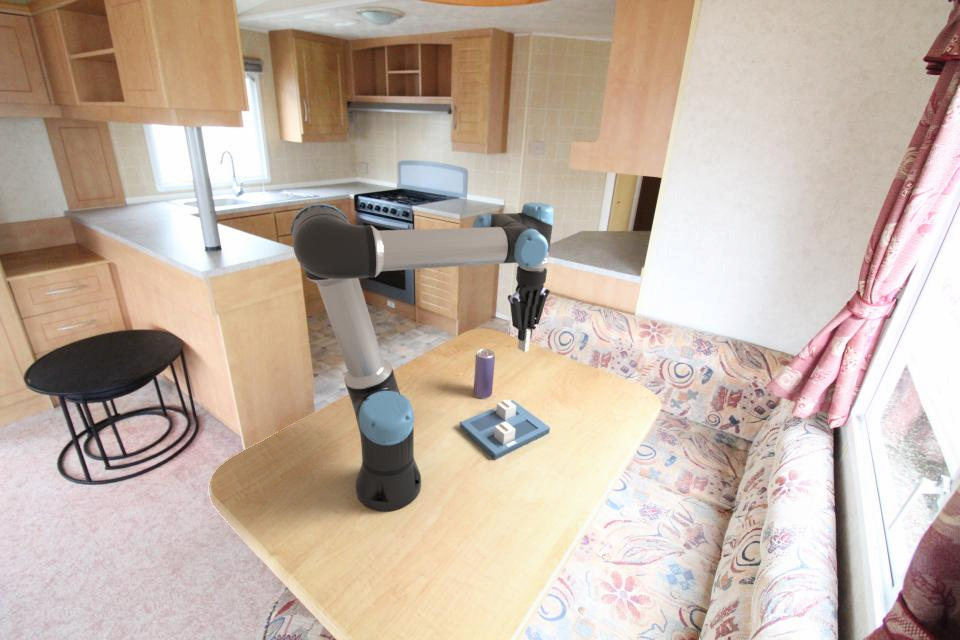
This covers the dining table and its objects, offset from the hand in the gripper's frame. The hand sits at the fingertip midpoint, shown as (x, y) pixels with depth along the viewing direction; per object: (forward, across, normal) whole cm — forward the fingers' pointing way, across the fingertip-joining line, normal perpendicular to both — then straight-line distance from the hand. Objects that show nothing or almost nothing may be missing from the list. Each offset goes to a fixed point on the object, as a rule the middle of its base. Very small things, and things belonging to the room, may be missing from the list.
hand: (523, 349), depth 126 cm
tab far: (+23, -1, +3) cm, 23 cm away
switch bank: (+24, -5, -1) cm, 25 cm away
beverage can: (+25, +1, +17) cm, 30 cm away
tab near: (+23, -9, -5) cm, 25 cm away
